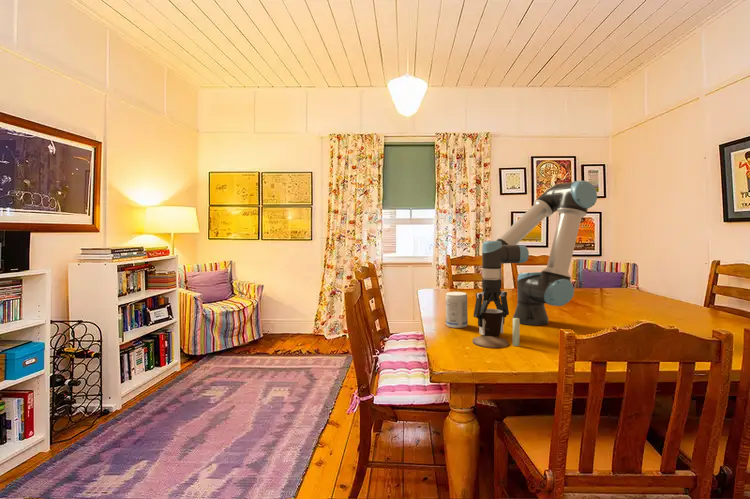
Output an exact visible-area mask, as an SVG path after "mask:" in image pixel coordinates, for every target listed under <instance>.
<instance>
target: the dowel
mask: <svg viewBox="0 0 750 499" xmlns="http://www.w3.org/2000/svg"><path fill="white" fill-rule="evenodd" d="M520 326H521V324H520V319H519V318H513V317H512V346H513V347H519V346H520V332H521V331H520V330H521V328H520Z"/></svg>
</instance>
